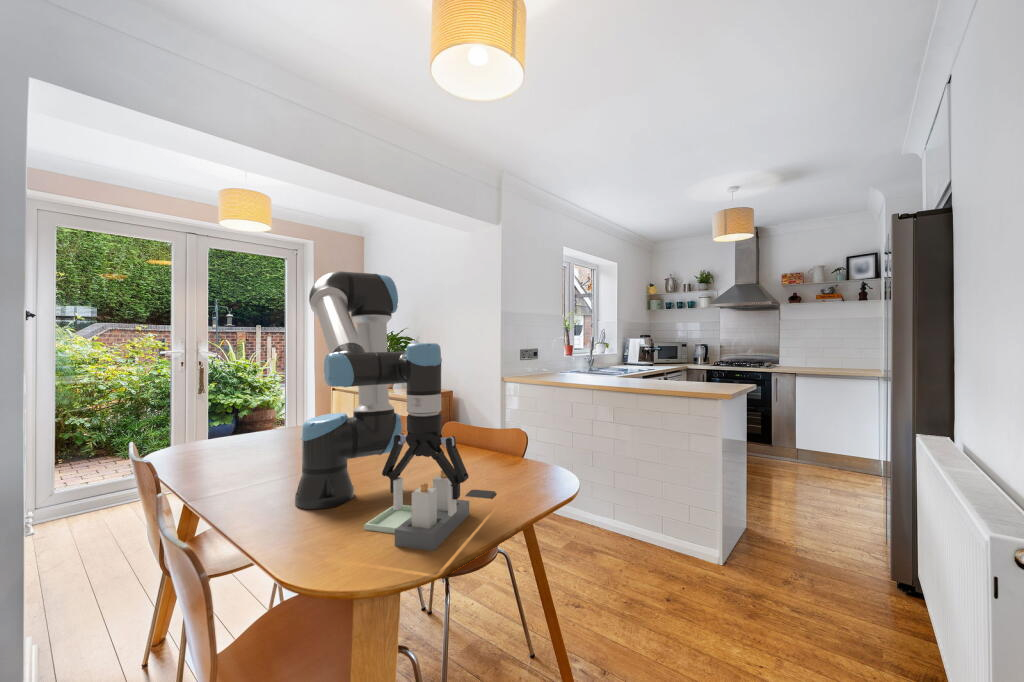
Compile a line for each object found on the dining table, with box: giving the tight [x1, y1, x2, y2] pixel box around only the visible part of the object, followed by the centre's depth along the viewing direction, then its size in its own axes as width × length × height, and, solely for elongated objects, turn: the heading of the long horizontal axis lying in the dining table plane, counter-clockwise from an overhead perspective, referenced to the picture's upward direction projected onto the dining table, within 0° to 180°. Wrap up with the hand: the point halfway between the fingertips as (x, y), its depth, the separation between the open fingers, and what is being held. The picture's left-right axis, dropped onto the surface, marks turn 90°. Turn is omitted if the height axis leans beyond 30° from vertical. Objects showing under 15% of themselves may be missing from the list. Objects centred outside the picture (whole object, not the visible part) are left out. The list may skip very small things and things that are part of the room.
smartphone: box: [464, 489, 497, 500], centre depth 120 cm, size 8×1×16 cm
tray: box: [363, 504, 412, 535], centre depth 106 cm, size 9×13×2 cm
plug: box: [411, 482, 437, 529], centre depth 96 cm, size 4×4×12 cm
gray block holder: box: [394, 469, 470, 552], centre depth 101 cm, size 9×20×12 cm, turn 164°
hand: (424, 510), depth 96 cm, fingers open, 12 cm apart
